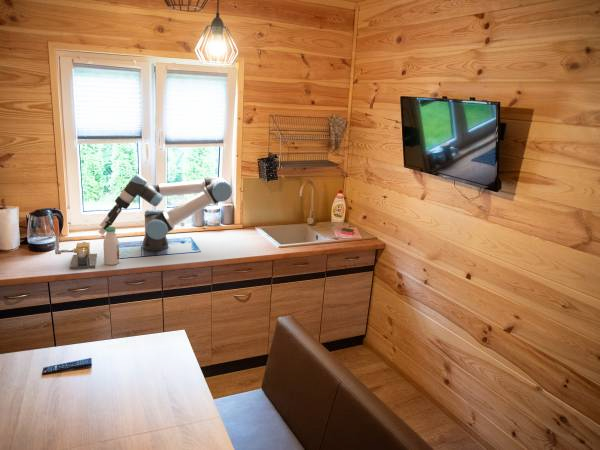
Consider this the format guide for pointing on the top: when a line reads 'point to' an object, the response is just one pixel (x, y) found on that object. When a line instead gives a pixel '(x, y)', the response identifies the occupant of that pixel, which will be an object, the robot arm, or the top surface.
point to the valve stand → (83, 257)
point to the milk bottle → (111, 247)
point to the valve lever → (56, 234)
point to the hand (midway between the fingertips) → (101, 230)
